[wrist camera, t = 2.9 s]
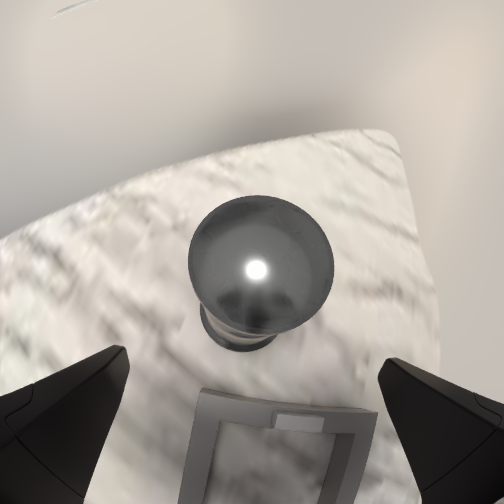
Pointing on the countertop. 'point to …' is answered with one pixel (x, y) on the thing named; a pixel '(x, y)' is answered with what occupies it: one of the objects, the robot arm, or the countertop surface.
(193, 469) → the u-shaped bracket
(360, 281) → the countertop surface
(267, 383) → the countertop surface
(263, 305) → the dark grey flanged cylinder
